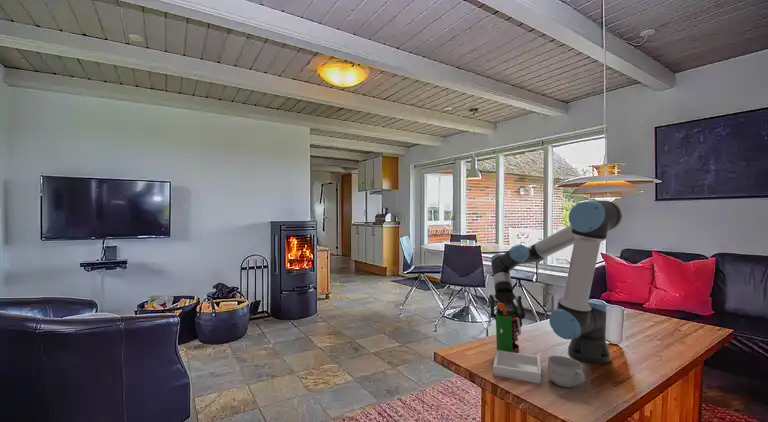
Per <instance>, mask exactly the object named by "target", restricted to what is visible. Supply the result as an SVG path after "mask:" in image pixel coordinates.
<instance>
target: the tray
mask: <svg viewBox="0 0 768 422" xmlns="http://www.w3.org/2000/svg"><path fill="white" fill-rule="evenodd" d="M541 369H542V368H541V356H539V355H534V354H527V353H522V352H521V353H520V352H519V353H514V352H508V351H501V350H497V349H496V352H495V356H494V361H493V365H492V376H495V377H500V378H507V379H512V380H518V381H523V382H529V383H535V384H542V382H541V381H542V371H541Z"/></svg>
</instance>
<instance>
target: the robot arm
mask: <svg viewBox="0 0 768 422" xmlns="http://www.w3.org/2000/svg"><path fill="white" fill-rule="evenodd" d="M622 217H623V213H622V210H621V208H620V207H619V205H617V204H616V203H614V202H612V201H610V200H599V199H598V200H595V199H587V200H582V201H579V202H577V203H576V204H574V205H573V206H572V207H571V209H570V210H569V213H568V221H569V224H570V225H568V226H566V227H564V228H562V229H560V230H558V231H557V232H553V234H551V235H549V236H547V237H545V238H543V239H541V240H539V241H538V242H536V243H534V244H531V245H529V246H525V245H524V244H522V243H518V244H516V245H514V246H512V247H510V249H508V250H507V251H505V253H497V254H494V255H492V256H491V258H490V261H491V262H490V263H491V264H490V265H491V270H492V271H491V272H492V276H493V277H492V278H493V284H494V285H493V286H494V292H495V294H494V295H492V294H489V297H488V300H489V302H490V311H489V312H490V318H491V319H494V320H495V326H496V325H497V322H496V313H495V300H497V302H498V303H504V305H508V307H510V308H511V309H510V310H511V311H514V313H515V316H517V324H516V325H517V326H518V328H517V330H518V332H517V333H518V336H521V335H522V329H521V328H522V327H523V320H524V319H525V317H526V312H525V309H524V306H523V302H522V296H521V295H519V296H517V295H515V294H514V289H513V285H512V279H511V273H510V271H512V270H513V269H514V268H517V266H519V265H526V264H535V263H536V264H537V263H540V262H543V261H544V260H545V259H546V258H547V257H549V256H552V255H553V254H556V253H558V252H560V251H562V250H564V249H566V248H568V247H570V246H573V247H572V252H571V257H570V261H569V262H570V263H569V267H568V271H567V277H566V282H565V288H564V293H563V296H562V297H560V298H559V299H558V300H557V306H556V309H554V310H553V311H552V312H550V314H549V319H548V320H549V322H548V323H549V325H550V327H551V329H552V330H553V332H554V334H555V335H557V336H558V337H559V338H561V339H564V340H570V342H569V344H568V348H567V353H568V355H569V356H571V358H572V359H574V360H577V361H581V362H585V363H588V364H589V363H590V364H598V365H599V364H601V365H602V364H607V363H609V362H610V361H611V354H610V350H609V348H608V345H607V344H608V343H607V342H606V331H607V330H606V329H607V306H606V305H605V303H603V302H600V301H596V300H592V299H590V294H591V290H592V284H593V280H594V276H595V270H596V266H597V261H598V257H599V251H600V247H601V243H602V242H604V241H606V240H607V235H608V232H609V231H611V230H614V229H616V228H617V226H619V225H620V223H621V222H622ZM514 300H515V302H516V304H517V306H516V305H515V302H514ZM517 307H518V308H517ZM500 311H501V309H497V308H496V312H497V313H498V315H499V313H500ZM502 332H503V330H502V329H501V328H500V333H502Z"/></svg>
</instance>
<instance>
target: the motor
mask: <svg viewBox="0 0 768 422" xmlns="http://www.w3.org/2000/svg"><path fill="white" fill-rule="evenodd" d="M497 309H500V313H499V315H498V313H497V311H496V312H495V314H496V320H495V323H496V322H497V325H496V324H495V335H496V351H497V350H501V351H508V352H514V353H520V344H517V343H516V342H518V341H519V338H518V336H519V335H518V330H517V328H518V326H517V325H516V324H517V316H515V313H514V311H512V309H509V310H507V308H506V304H504V303H499V302H497V303H496V310H497ZM500 328H501V329H502V330H503V332H502V333H500Z"/></svg>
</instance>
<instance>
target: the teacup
mask: <svg viewBox="0 0 768 422" xmlns="http://www.w3.org/2000/svg"><path fill="white" fill-rule="evenodd" d="M582 367H583V364H582V363H581V362H580V361H579V360H577V359H575V358H572V357H567V356H562V355H550V356H548V357H547V368H546V369H547V375H548V378H549V379H550V380H551V381H552V382H553V383H554V384H555V385H557V386H559V387H562V388H574V387H576V386H578V385H580V384H582V383H584V382H585V380H586V375H585V372H583V371H582Z"/></svg>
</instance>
